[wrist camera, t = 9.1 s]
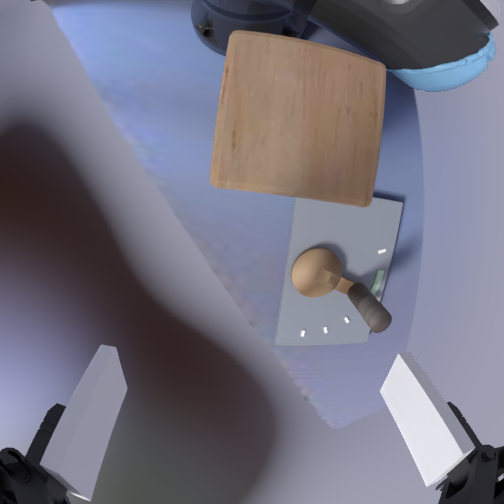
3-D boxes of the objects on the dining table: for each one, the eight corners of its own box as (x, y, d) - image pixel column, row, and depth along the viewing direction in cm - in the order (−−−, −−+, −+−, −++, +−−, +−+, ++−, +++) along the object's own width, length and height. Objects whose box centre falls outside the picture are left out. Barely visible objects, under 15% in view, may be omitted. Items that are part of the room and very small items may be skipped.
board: (295, 186, 35) (297, 187, 33) (397, 200, 36) (403, 203, 34) (274, 339, 43) (275, 346, 41) (362, 337, 44) (366, 343, 42)
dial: (281, 283, 37) (294, 321, 29) (306, 238, 35) (328, 266, 27) (363, 316, 40) (388, 351, 31) (387, 279, 38) (419, 309, 29)
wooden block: (311, 107, 31) (389, 63, 12) (301, 180, 35) (373, 210, 16) (233, 95, 30) (230, 26, 12) (224, 170, 34) (207, 188, 15)
